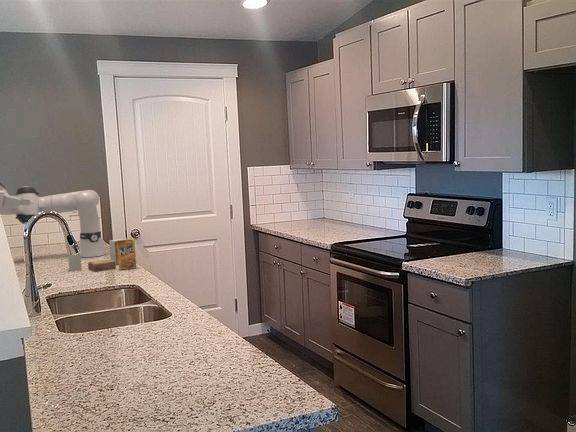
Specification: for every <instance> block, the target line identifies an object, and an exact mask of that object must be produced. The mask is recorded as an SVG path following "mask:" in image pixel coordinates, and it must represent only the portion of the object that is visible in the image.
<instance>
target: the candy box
mask: <svg viewBox="0 0 576 432" xmlns="http://www.w3.org/2000/svg"><path fill="white" fill-rule="evenodd" d="M121 239H122V240H117V250H118V263H119V264H118V270H119V271H120V270H130V269H137V256H136V243H135V238H121Z"/></svg>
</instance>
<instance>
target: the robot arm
mask: <svg viewBox="0 0 576 432" xmlns="http://www.w3.org/2000/svg"><path fill="white" fill-rule="evenodd" d="M38 195H40V192H38V191H37V189H36V188H34V187H33V186H28V185H25V186H24V185H23V186H21V187H19V188H17V189H16V193H15V195H9V193H8V190H7V189H6V186H4V185H3V184H2V182H0V215H2V216H10V215H11V216H12V215H15V219H16V220H18V221H19V222H20V223H21V224H23V225H27V224H26V223H27V222H28V220H29V219H30V218H31V217H32V216H34V215H35V214H37V213H39V212H42V211H55V212H57V213H56V214H63V213H69V212H75V211H77V214H78V217H79V227H80V232H79V241H78V243H77V245H79V247H80V256H81V258H94V257H100V256H103V255H106V254H109V251H107V250H106V244H105V240H104V239H103V238H102V231H101V225H100V217H99V214H98V208H97V205H98V204H99V202H100V196H99V193H97V192H96V191H95V190H93V189H86V190H80V191H72V192H66V193H58V194H51V195H45V196H38Z"/></svg>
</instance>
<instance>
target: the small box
mask: <svg viewBox="0 0 576 432" xmlns="http://www.w3.org/2000/svg"><path fill="white" fill-rule="evenodd" d="M122 239H123V238H118V239H111V240H108V241H109V254H110V260H112V261H114V262H115V264H116V265H118V266H119V263H118V250H117V240H122Z"/></svg>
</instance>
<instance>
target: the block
mask: <svg viewBox="0 0 576 432" xmlns="http://www.w3.org/2000/svg"><path fill="white" fill-rule="evenodd" d="M79 248H80V247H79ZM67 258H68V270H69V271H71V272H76V271H82V257H81V256H80V253H78V254H76V255H68V254H67Z"/></svg>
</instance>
